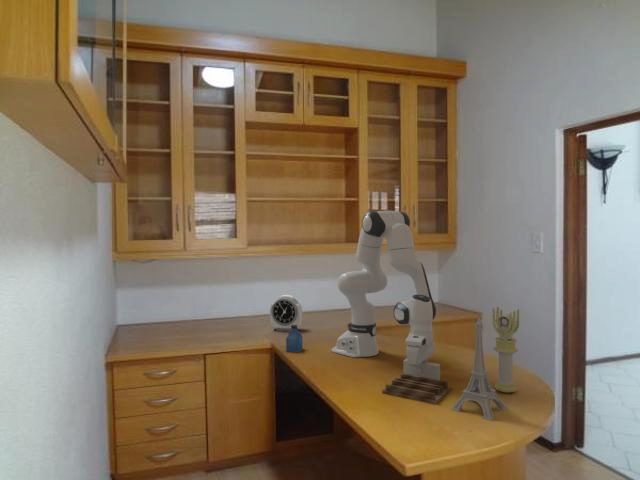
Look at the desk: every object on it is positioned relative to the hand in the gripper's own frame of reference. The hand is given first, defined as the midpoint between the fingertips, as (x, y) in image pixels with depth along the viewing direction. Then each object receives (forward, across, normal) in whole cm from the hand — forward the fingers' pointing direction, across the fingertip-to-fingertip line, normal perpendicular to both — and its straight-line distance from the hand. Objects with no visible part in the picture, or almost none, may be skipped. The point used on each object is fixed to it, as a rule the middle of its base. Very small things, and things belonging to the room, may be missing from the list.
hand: (421, 371), depth 181 cm
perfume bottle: (+3, -6, -67) cm, 67 cm away
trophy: (+3, -2, +31) cm, 31 cm away
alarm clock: (+3, -38, -96) cm, 103 cm away
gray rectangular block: (+2, 0, 0) cm, 2 cm away
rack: (+2, +15, +4) cm, 16 cm away
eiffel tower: (+3, +19, +27) cm, 33 cm away
